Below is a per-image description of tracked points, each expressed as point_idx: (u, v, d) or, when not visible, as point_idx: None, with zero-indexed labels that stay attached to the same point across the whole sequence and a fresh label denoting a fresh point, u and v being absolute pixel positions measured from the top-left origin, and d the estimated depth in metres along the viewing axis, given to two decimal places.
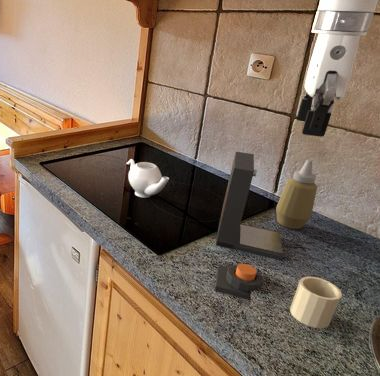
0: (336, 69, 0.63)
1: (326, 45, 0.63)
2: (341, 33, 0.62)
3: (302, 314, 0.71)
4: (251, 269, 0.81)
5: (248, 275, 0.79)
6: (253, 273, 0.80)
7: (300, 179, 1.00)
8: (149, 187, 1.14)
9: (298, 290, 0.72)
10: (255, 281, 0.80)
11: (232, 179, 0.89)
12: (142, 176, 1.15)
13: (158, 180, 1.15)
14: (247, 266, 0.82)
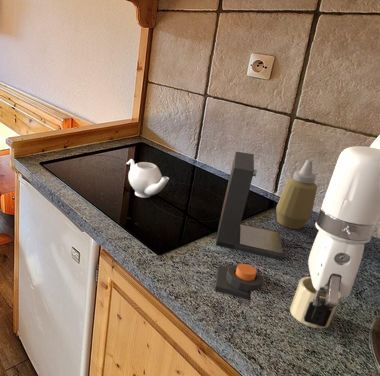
0: (340, 273, 0.63)
1: (330, 249, 0.63)
2: (345, 240, 0.62)
3: (302, 314, 0.71)
4: (251, 269, 0.81)
5: (248, 275, 0.79)
6: (253, 273, 0.80)
7: (300, 179, 1.00)
8: (149, 187, 1.14)
9: (298, 290, 0.72)
10: (255, 281, 0.80)
11: (232, 179, 0.89)
12: (142, 176, 1.15)
13: (158, 180, 1.15)
14: (247, 266, 0.82)
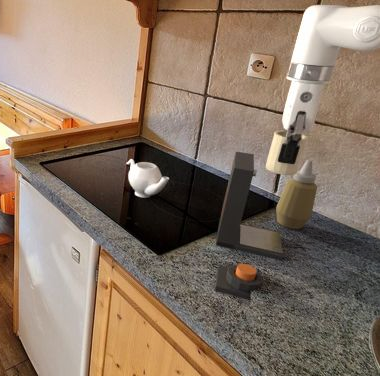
0: (305, 110, 0.79)
1: (297, 91, 0.79)
2: (309, 82, 0.78)
3: (276, 157, 0.86)
4: (251, 269, 0.81)
5: (248, 275, 0.79)
6: (253, 273, 0.80)
7: (300, 179, 1.00)
8: (149, 187, 1.14)
9: (273, 139, 0.87)
10: (255, 281, 0.80)
11: (232, 179, 0.89)
12: (142, 176, 1.15)
13: (158, 180, 1.15)
14: (247, 266, 0.82)
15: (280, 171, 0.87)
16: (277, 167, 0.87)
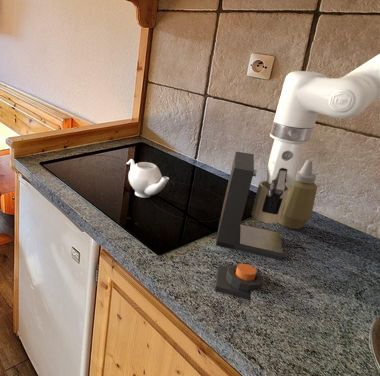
0: (286, 167, 0.85)
1: (279, 149, 0.85)
2: (289, 141, 0.84)
3: (260, 207, 0.92)
4: (251, 269, 0.81)
5: (248, 275, 0.79)
6: (253, 273, 0.80)
7: (300, 179, 1.00)
8: (149, 187, 1.14)
9: (258, 189, 0.93)
10: (255, 281, 0.80)
11: (232, 179, 0.89)
12: (142, 176, 1.15)
13: (158, 180, 1.15)
14: (247, 266, 0.82)
15: (264, 220, 0.92)
16: (262, 216, 0.93)
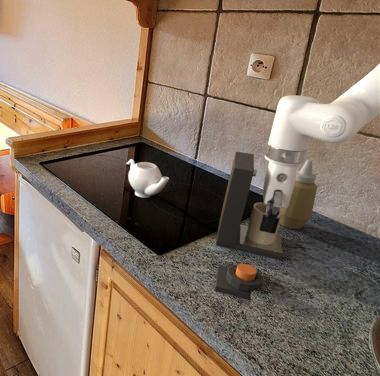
0: (281, 189, 0.87)
1: (273, 171, 0.87)
2: (284, 164, 0.86)
3: (255, 229, 0.95)
4: (251, 269, 0.81)
5: (248, 275, 0.79)
6: (253, 273, 0.80)
7: (300, 179, 1.00)
8: (149, 187, 1.14)
9: (252, 211, 0.95)
10: (255, 281, 0.80)
11: (232, 179, 0.89)
12: (142, 176, 1.15)
13: (158, 180, 1.15)
14: (247, 266, 0.82)
15: (259, 241, 0.95)
16: (256, 237, 0.95)
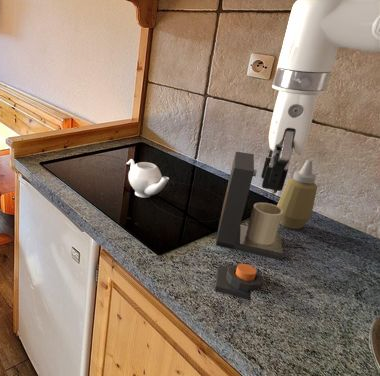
0: (294, 127, 0.64)
1: (284, 103, 0.64)
2: (299, 92, 0.63)
3: (255, 229, 0.95)
4: (251, 269, 0.81)
5: (248, 275, 0.79)
6: (253, 273, 0.80)
7: (300, 179, 1.00)
8: (149, 187, 1.14)
9: (252, 211, 0.95)
10: (255, 281, 0.80)
11: (232, 179, 0.89)
12: (142, 176, 1.15)
13: (158, 180, 1.15)
14: (247, 266, 0.82)
15: (259, 241, 0.95)
16: (256, 237, 0.95)
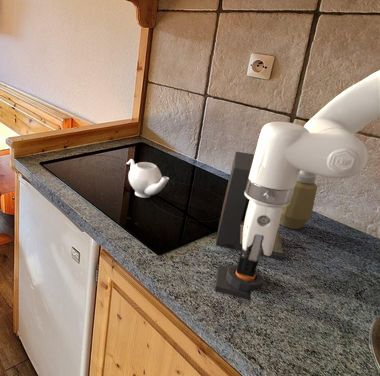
0: (262, 234, 0.72)
1: (254, 213, 0.72)
2: (266, 204, 0.71)
3: None
4: None
5: (247, 280, 0.80)
6: (252, 277, 0.80)
7: (300, 179, 1.00)
8: (149, 187, 1.14)
9: None
10: (255, 281, 0.80)
11: (232, 179, 0.89)
12: (142, 176, 1.15)
13: (158, 180, 1.15)
14: None
15: None
16: None
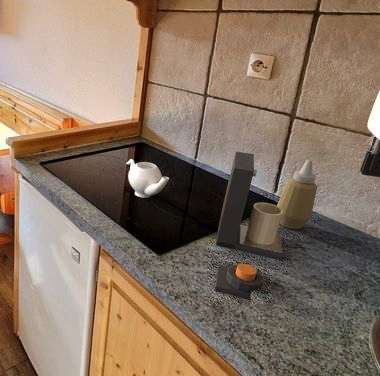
0: None
1: None
2: None
3: (255, 229, 0.95)
4: (251, 269, 0.81)
5: (248, 275, 0.79)
6: (253, 273, 0.80)
7: (300, 179, 1.00)
8: (149, 187, 1.14)
9: (252, 211, 0.95)
10: (255, 281, 0.80)
11: (232, 179, 0.89)
12: (142, 176, 1.15)
13: (158, 180, 1.15)
14: (247, 266, 0.82)
15: (259, 241, 0.95)
16: (256, 237, 0.95)
